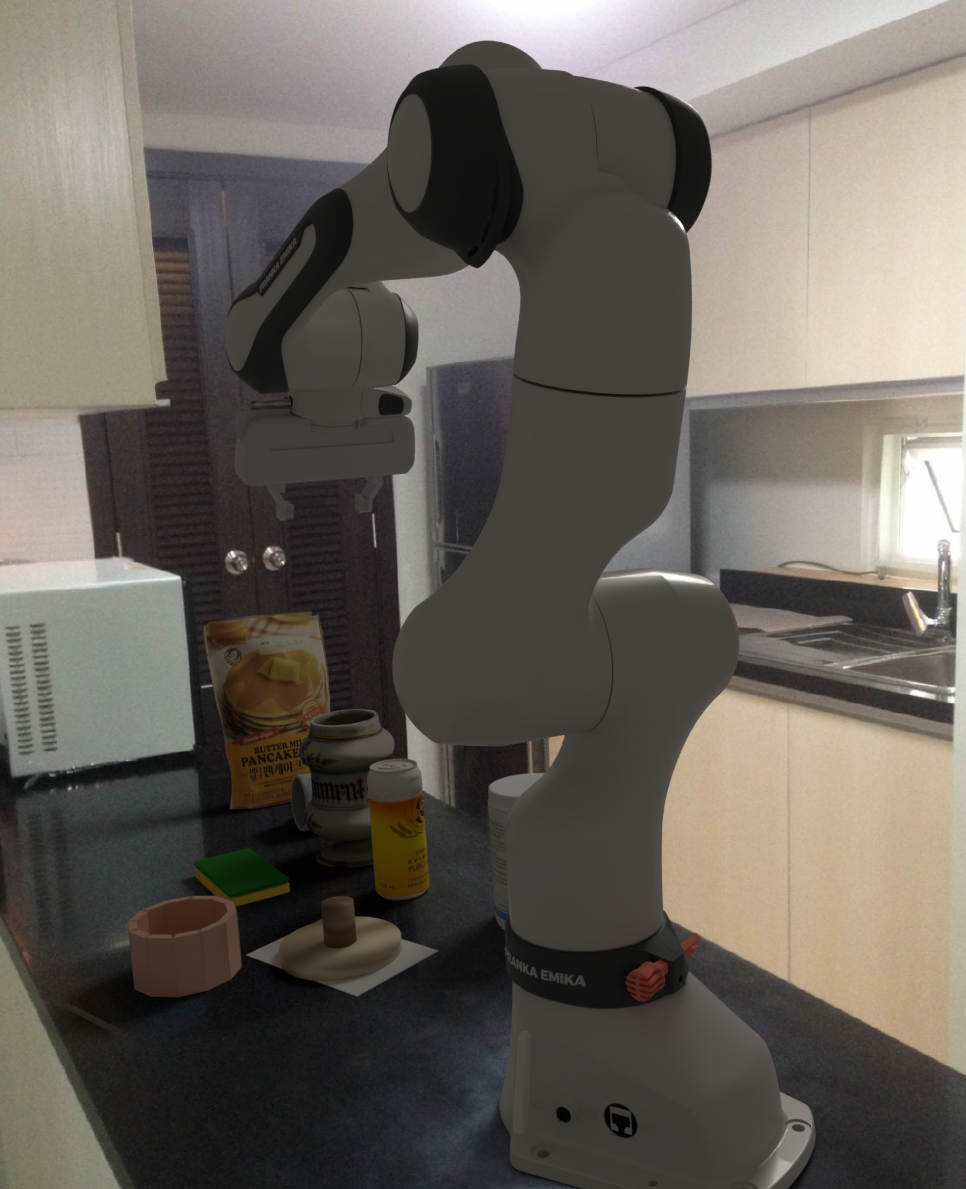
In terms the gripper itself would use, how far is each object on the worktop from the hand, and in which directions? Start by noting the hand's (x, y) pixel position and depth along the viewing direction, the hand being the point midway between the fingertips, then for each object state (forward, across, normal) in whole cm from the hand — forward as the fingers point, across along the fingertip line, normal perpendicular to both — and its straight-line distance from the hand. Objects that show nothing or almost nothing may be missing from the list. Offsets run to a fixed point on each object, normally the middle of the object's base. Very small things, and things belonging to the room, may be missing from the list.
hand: (324, 514), depth 123 cm
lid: (+33, -10, -32) cm, 47 cm away
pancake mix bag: (+55, +4, +21) cm, 59 cm away
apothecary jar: (+43, +3, -8) cm, 44 cm away
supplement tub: (+32, +11, -37) cm, 51 cm away
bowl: (+35, -24, -27) cm, 50 cm away
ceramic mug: (+49, +4, +7) cm, 50 cm away
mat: (+34, -10, -32) cm, 48 cm away
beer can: (+38, +2, -22) cm, 44 cm away
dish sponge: (+44, -12, -8) cm, 46 cm away
